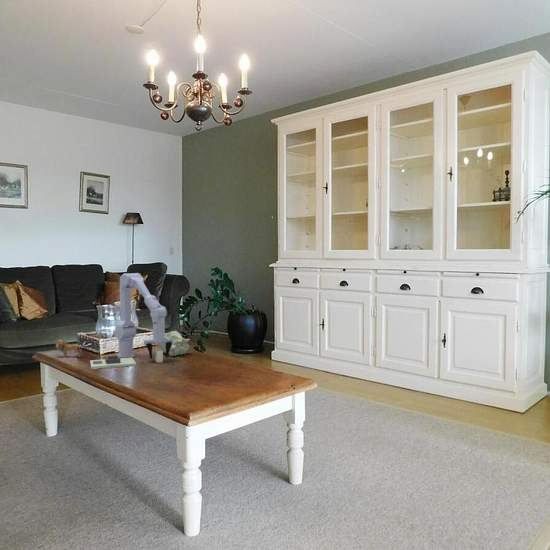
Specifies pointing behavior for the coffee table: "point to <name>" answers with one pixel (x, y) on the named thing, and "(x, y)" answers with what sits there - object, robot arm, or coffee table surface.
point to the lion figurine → (67, 347)
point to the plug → (159, 355)
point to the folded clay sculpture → (175, 344)
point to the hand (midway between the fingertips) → (159, 358)
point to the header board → (112, 362)
